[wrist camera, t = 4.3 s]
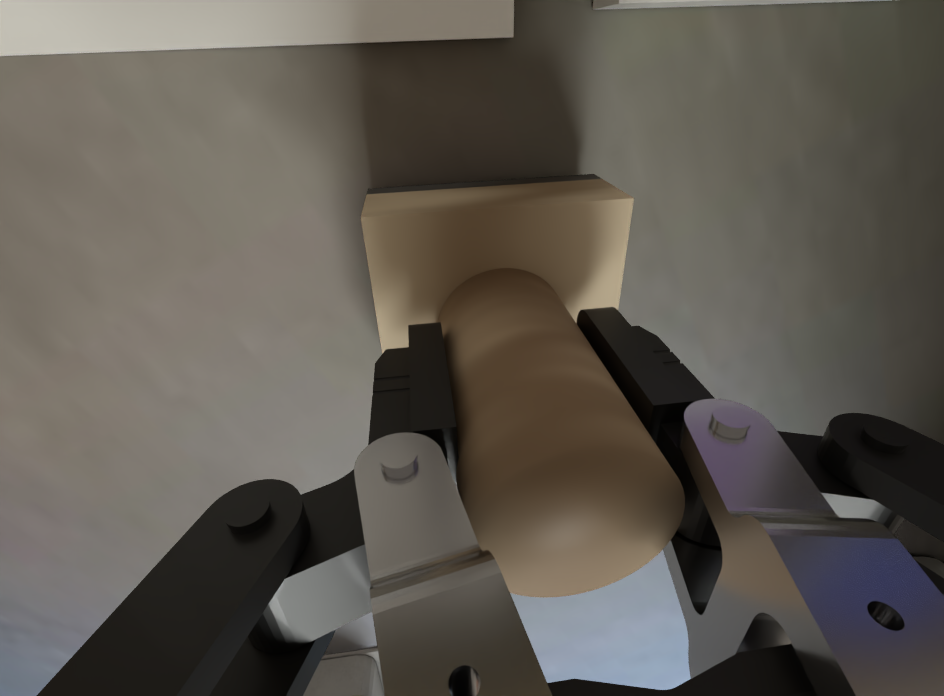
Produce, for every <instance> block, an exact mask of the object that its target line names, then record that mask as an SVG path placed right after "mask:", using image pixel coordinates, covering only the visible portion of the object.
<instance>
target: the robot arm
mask: <svg viewBox="0 0 944 696" xmlns="http://www.w3.org/2000/svg"><path fill="white" fill-rule="evenodd" d="M576 324H577V325H578V327H579V328H580V330H581V331H582V333H583V334H584V336H585V337H586V339H587V340H588V342H589V343H590V345H591V346H592V348H593V349H594V351H595V353H596V354H597V356H598V357H599V359H600V360H601V362H602V363H603V365H604V366H605V368H606V369H607V371H608V372H609V374H610V375H611V377H612V378H613V380H614V381H615V383H616V384H617V386H618V387H619V389H620V390H621V392H622V393H623V395H624V396H625V398H626V400H627V401H628V403H629V404H630V406H631V407H632V409H633V410H634V412H635V413H636V415H637V416H638V418H639V419H640V421H641V422H642V424H643V425H644V427H645V428H646V430H647V431H648V433H649V434H650V436H651V437H652V439H653V440H654V442H655V443H656V445H657V447H658V448H659V450H660V451H661V453H662V454H663V456H664V457H665V459H666V460H667V462H668V463H669V465H670V466H671V468H672V469H673V471H674V472H675V474H676V475H677V477H678V478H679V480H680V482H681V485H682V487H683V490H684V495H685V509H684V513H683V518H682V520H681V523H680V525H679V527H678V529H677V531H676V533H675V534H674V536H673V537H672V539H671V540H670V541H669V543H668V544H667V545H666V546H665V547H664V548H663V551H664V555H665V558H666V561H667V564H668V567H669V571H670V574H671V577H672V580H673V583H674V586H675V590H676V593H677V596H678V599H679V602H680V606H681V609H682V612H683V615H684V618H685V622H686V626H687V631H688V639H689V652H688V656H689V669H690V676H691V679H690V680H688V681H687V682H685V683H683V684H681V685H679V686H678V687H675V688H673V689H670V690H655V689H648V688H640V687H632V686H625V685H617V684H610V683H602V682H595V681H587V680H579V679H570V680H564V681H558V682H552V683H547V682H546V679H545V677H544V675H543V672H542V670H541V667H540V665H539V662H538V660H537V658H536V655H535V653H534V650H533V648H532V646H531V643H530V641H529V638H528V636H527V633H526V631H525V629H524V626H523V624H522V621H521V619H520V616H519V614H518V612H517V609H516V607H515V604H514V602H513V599H512V597H511V595H510V592H509V590H508V587H507V585H506V583H505V580H504V578H503V575H502V573H501V571H500V568H499V566H498V564H497V562H496V560H495V558H494V556H493V555H492V553H491V552H490V551H489V550H485V551H482V550H481V548H480V546H479V544H478V541H477V539H476V536H475V534H474V531H473V529H472V526H471V524H470V521H469V518H468V516H467V513H466V511H465V508H464V506H463V503H462V501H461V498H460V495H459V493H458V489H457V482H456V469H457V464H458V460H459V455H458V440H457V426H456V419H455V413H454V406H453V400H452V393H451V386H450V380H449V373H448V366H447V360H446V353H445V347H444V340H443V333H442V327H441V322H436V323H424V324H413V325H408V338H409V347H405V348H394V349H386V350H385V351H384V353H383V354H382V355H381V357H380V358H379V359H378V360H377V362H376V363H375V372H374V384H373V396H372V408H371V420H370V432H369V443H368V446H367V447H366V448H365V449H364V450H363V451H362V452H361V453H360V455H359V456H358V458H357V460H356V462H355V466H354V470H352V471H351V472H350V473H349V474H347V475H346V476H344V477H343V478H341V479H339V480H337V481H335V482H333V483H331V484H328V485H326V486H323V487H321V488H318V489H315V490H313V491H310V492H307V493H304V494H302V495H300V493H299V492H298V490H297V489H296V488H295V487H294V486H293V485H291V484H289V483H287V482H285V481H281V480H275V479H265V480H257V481H253V482H249V483H246V484H244V485H241V486H239V487H237V488H235V489H233V490H231V491H229V492H228V493H226V494H224V495H223V496H222V497H220V498H219V499H218V500H216V501H215V502H214V503H213V504H212V505H211V506H210V507H209V508H208V509H207V510H206V511H205V512H204V514H203V515H202V516H201V517H200V518H199V519H198V520H197V521H196V522H195V523H194V524H193V526H192V527H191V528H190V529H189V530H188V531H187V532H186V533H185V534H184V535H183V536H182V538H181V539H180V540H179V541H178V542H177V543H176V544H175V545H174V546H173V547H172V548H171V550H170V551H169V552H168V553H167V554H166V555H165V556H164V557H163V558H162V559H161V561H160V562H159V563H158V564H157V565H156V566H155V567H154V568H153V569H152V570H151V571H150V573H149V574H148V575H147V576H146V577H145V578H144V579H143V580H142V581H141V582H140V583H139V585H138V586H137V587H136V588H135V589H134V590H133V591H132V592H131V593H130V594H129V595H128V597H127V598H126V599H125V600H124V601H123V602H122V603H121V604H120V605H119V606H118V607H117V609H116V610H115V611H114V612H113V613H112V614H111V615H110V616H109V617H108V618H107V619H106V621H105V622H104V623H103V624H102V625H101V626H100V627H99V628H98V629H97V630H96V631H95V633H94V634H93V635H92V636H91V637H90V638H89V639H88V640H87V641H86V642H85V644H84V645H83V646H82V647H81V648H80V649H79V650H78V651H77V652H76V653H75V654H74V656H73V657H72V658H71V659H70V660H69V661H68V662H67V663H66V664H65V665H64V666H63V668H62V669H61V670H60V671H59V672H58V673H57V674H56V675H55V676H54V677H53V678H52V680H51V681H50V682H49V683H48V684H47V685H46V686H45V687H44V688H43V689H42V690H41V692H40V693H39V694H38V695H37V696H303V694H304V692H305V690H306V689H307V687H308V685H309V683H310V681H311V679H312V677H313V675H314V673H315V671H316V669H317V667H318V665H319V663H320V661H321V659H322V657H323V655H324V653H325V651H326V649H327V647H328V645H329V643H330V641H331V639H332V637H333V635H334V632H335V630H336V629H338V628H340V627H342V626H344V625H346V624H348V623H350V622H352V621H354V620H356V619H358V618H360V617H362V616H364V615H366V614H368V613H370V612H372V613H373V620H374V627H375V633H376V640H377V647H378V654H379V660H380V667H381V674H382V681H383V687H384V694H385V696H944V563H943V562H941V561H939V560H938V559H935V558H930V557H912V556H911V555H910V554H909V552H908V551H907V550H906V549H905V547H904V546H903V545H902V544H901V542H900V541H899V540H898V539H897V538H896V537H895V535H894V533H895V532H896V530H897V529H898V528H899V526H900V525H901V523H902V522H903V520H904V519H906V520H908V521H910V522H911V523H913V524H915V525H916V526H918V527H920V528H921V529H923V530H925V531H926V532H928V533H930V534H931V535H933V536H935V537H936V538H938V539H940V540H941V541H943V542H944V445H943V444H941V443H939V442H937V441H935V440H933V439H930V438H928V437H926V436H924V435H922V434H920V433H918V432H916V431H914V430H912V429H909V428H907V427H905V426H903V425H901V424H898V423H896V422H894V421H891V420H888V419H885V418H882V417H878V416H874V415H869V414H861V413H846V414H841V415H838V416H836V417H834V418H833V419H832V420H831V421H830V423H829V425H828V427H827V429H826V431H825V433H824V436H815V435H806V434H797V433H788V432H780V431H776V429H775V428H774V426H773V425H772V424H771V423H770V422H769V420H768V419H766V418H765V417H764V416H763V415H761V414H760V413H759V412H757V411H755V410H753V409H752V408H750V407H747V406H745V405H743V404H740V403H737V402H733V401H729V400H723V399H715V398H714V397H713V396H712V395H711V394H710V393H709V392H708V390H707V389H706V388H705V387H704V386H703V385H702V384H701V383H700V382H699V381H698V380H697V379H696V377H695V376H694V375H693V374H692V373H691V372H690V371H689V370H688V369H687V368H686V367H685V366H684V364H683V363H682V364H680V360H679V359H678V358H677V357H676V356H675V355H674V354H673V352H670V349H669V348H668V347H667V346H666V345H665V344H664V343H663V342H662V341H661V339H660V338H659V337H658V336H656V335H654V334H652V333H651V332H649V331H647V330H645V329H643V328H642V327H640V326H631V325H630V324H629V323H628V322H627V321H626V320H625V318H624V317H623V316H622V315H621V314H620V313H619V311H618V310H617V309H616V308H615V307H605V308H594V309H583V310H580V311H579V313H578V316H577V323H576Z"/></svg>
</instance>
